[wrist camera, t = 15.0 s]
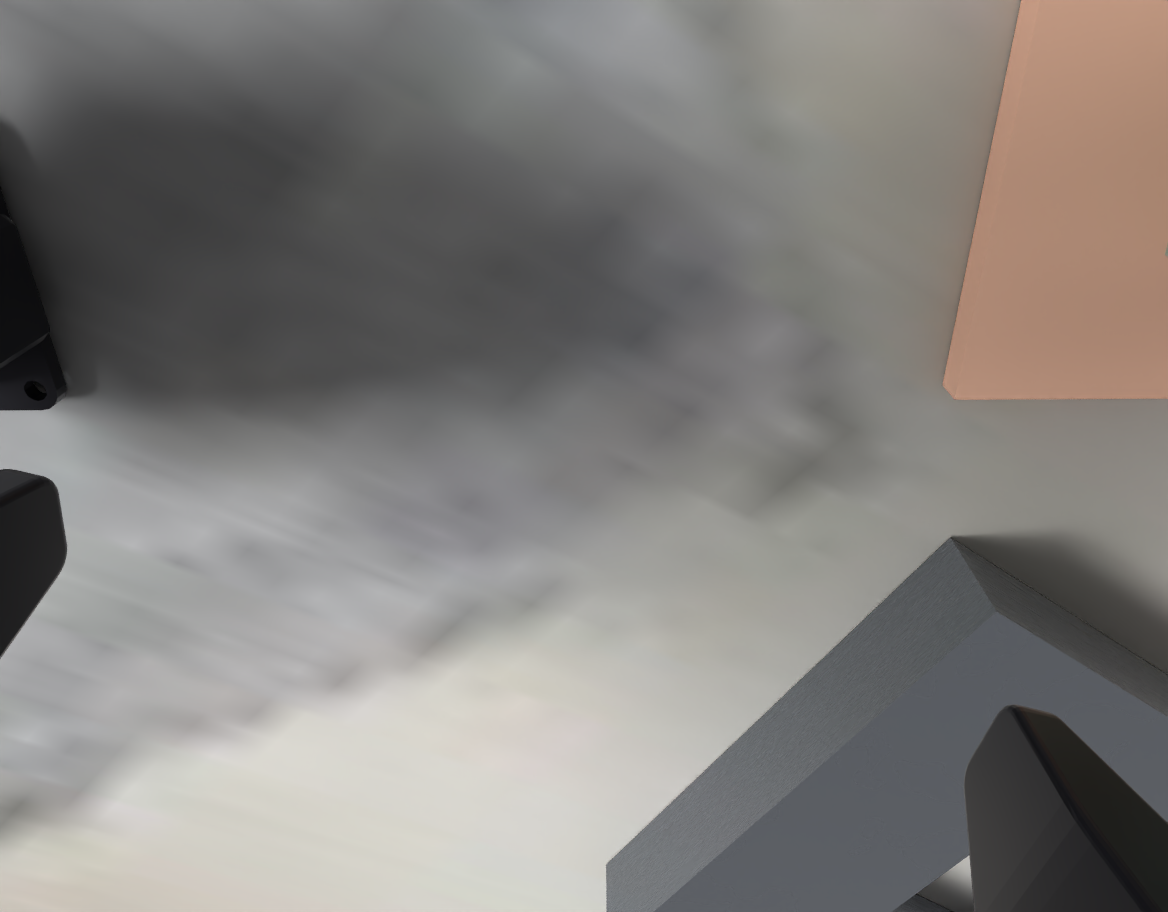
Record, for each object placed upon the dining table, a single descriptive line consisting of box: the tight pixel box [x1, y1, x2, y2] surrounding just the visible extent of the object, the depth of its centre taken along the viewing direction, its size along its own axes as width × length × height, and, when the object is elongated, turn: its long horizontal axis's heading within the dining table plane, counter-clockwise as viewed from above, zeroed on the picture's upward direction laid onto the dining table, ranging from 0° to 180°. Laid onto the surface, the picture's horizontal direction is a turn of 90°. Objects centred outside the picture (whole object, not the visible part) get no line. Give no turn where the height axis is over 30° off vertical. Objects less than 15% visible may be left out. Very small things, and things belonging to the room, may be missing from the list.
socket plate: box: [606, 537, 1168, 912], centre depth 27 cm, size 18×16×3 cm
